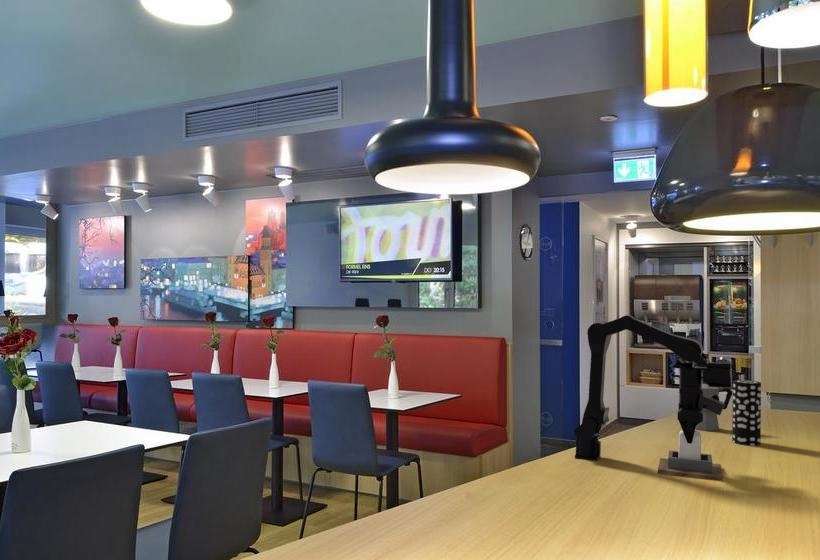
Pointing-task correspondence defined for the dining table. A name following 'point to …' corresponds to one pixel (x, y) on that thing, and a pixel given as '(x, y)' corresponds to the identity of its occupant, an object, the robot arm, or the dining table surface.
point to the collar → (690, 463)
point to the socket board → (714, 475)
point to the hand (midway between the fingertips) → (689, 441)
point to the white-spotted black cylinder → (746, 412)
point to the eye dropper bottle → (690, 446)
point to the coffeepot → (708, 416)
